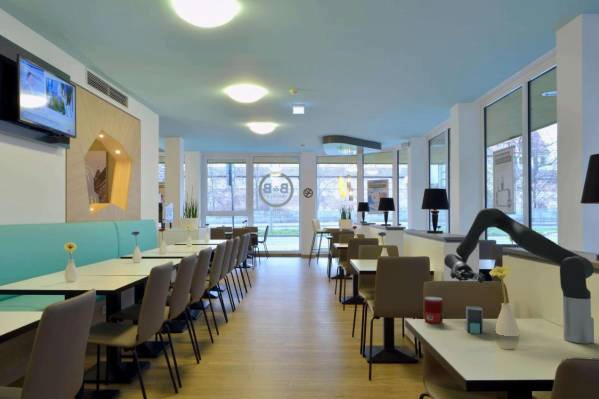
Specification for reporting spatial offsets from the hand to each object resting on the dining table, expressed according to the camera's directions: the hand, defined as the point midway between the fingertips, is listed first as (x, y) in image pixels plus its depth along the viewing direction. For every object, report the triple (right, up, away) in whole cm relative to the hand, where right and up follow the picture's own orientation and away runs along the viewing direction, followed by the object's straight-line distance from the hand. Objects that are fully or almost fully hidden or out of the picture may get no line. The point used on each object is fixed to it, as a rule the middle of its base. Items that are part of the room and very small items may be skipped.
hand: (471, 280), depth 183 cm
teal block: (-2, -21, -7) cm, 22 cm away
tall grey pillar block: (-2, -21, -7) cm, 22 cm away
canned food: (-14, -21, +8) cm, 27 cm away
